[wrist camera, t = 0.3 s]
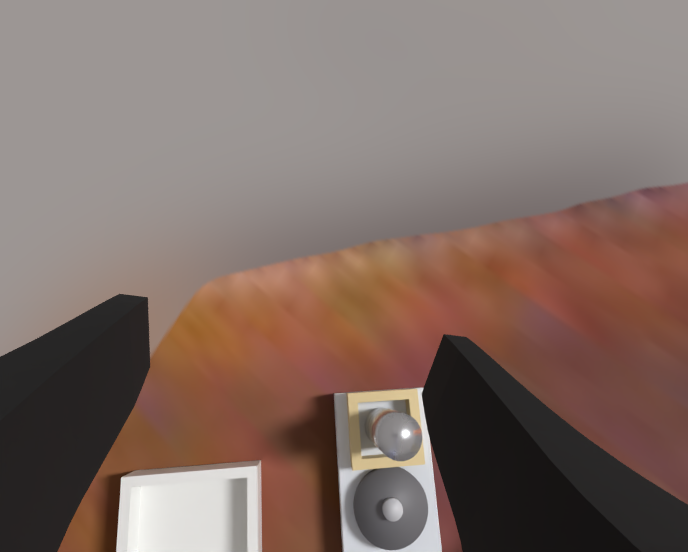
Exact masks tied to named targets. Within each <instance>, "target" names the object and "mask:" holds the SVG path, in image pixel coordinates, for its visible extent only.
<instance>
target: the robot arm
mask: <svg viewBox="0 0 688 552" xmlns="http://www.w3.org/2000/svg"><path fill="white" fill-rule="evenodd" d="M148 322H149V321H148V298H147V297H139V296H132V295H124V294H119V295H117V296H115V297H112V298H111V299H109V300H107V301H105V302H103V303H101V304H99V305H98V306H96V307H94V308H92V309H90V310H88V311H87V312H85V313H83V314H81V315H79V316H78V317H76V318H74V319H72V320H70V321H69V322H67V323H65V324H63V325H61V326H59V327H58V328H56V329H54V330H52V331H50V332H48V333H46V334H45V335H43V336H41V337H39V338H37V339H35V340H33V341H31V342H29V343H27V344H26V345H23V346H21V347H19V348H17V349H15V350H13V351H11V352H9V353H7V354H5V355H3V356H1V357H0V552H57V551H58V549H59V547H60V544H61V542H62V540H63V538H64V535H65V533H66V531H67V529H68V526H69V524H70V522H71V520H72V518H73V516H74V514H75V512H76V510H77V508H78V506H79V504H80V502H81V500H82V499H83V497H84V495H85V493H86V491H87V490H88V488H89V486H90V484H91V483H92V481H93V479H94V477H95V475H96V474H97V472H98V470H99V468H100V467H101V465H102V463H103V461H104V459H105V458H106V456H107V454H108V452H109V451H110V449H111V447H112V445H113V443H114V442H115V440H116V438H117V436H118V435H119V433H120V431H121V429H122V427H123V425H124V424H125V422H126V420H127V418H128V416H129V415H130V413H131V411H132V409H133V407H134V405H135V403H136V401H137V398H138V396H139V393H140V391H141V389H142V386H143V384H144V381H145V378H146V376H147V373H148V371H149V368H150V351H149V350H150V348H149V323H148ZM422 400H423V407H424V414H425V419H426V424H427V430H428V434H429V437H430V441H431V444H432V447H433V450H434V454H435V457H436V460H437V464H438V467H439V470H440V473H441V476H442V480H443V483H444V486H445V489H446V492H447V496H448V499H449V502H450V505H451V508H452V512H453V515H454V518H455V521H456V525H457V529H458V533H459V536H460V540H461V545H462V549H463V552H688V505H687V504H686V503H684V502H682V501H681V500H679V499H677V498H676V497H674V496H673V495H671V494H669V493H668V492H666V491H665V490H663V489H661V488H660V487H658V486H657V485H655V484H653V483H652V482H650V481H649V480H647V479H645V478H644V477H642V476H641V475H639V474H638V473H636V472H635V471H633V470H632V469H630V468H629V467H627V466H626V465H624V464H623V463H621V462H620V461H618V460H617V459H616V458H614V457H613V456H611V455H610V454H609V453H607V452H606V451H604V450H603V449H601V448H600V447H599V446H597V445H596V444H594V443H593V442H592V441H590V440H589V439H588V438H586V437H585V436H584V435H582V434H581V433H580V432H578V431H577V430H576V429H574V428H573V427H572V426H571V425H569V424H568V423H567V422H566V421H564V420H563V419H562V418H561V417H559V416H558V415H557V414H556V413H554V412H553V411H552V410H551V409H549V408H548V407H547V406H546V405H545V404H543V403H542V402H541V401H540V400H539V399H537V398H536V397H535V396H534V395H533V394H532V393H530V392H529V391H528V390H527V389H526V388H525V387H524V386H522V385H521V384H520V383H519V382H518V381H517V380H516V379H514V378H513V377H512V376H511V375H510V374H509V373H508V372H507V371H505V370H504V369H503V368H502V367H501V366H500V365H499V364H498V363H497V362H495V361H494V360H493V359H492V358H491V357H490V356H489V355H487V354H486V353H485V352H484V351H483V350H482V349H481V348H479V347H478V346H477V345H476V344H475V343H473V342H472V341H471V340H469V339H468V338H467V337H461V336H453V335H445V334H444V335H443V338H442V340H441V343H440V346H439V348H438V351H437V354H436V356H435V359H434V362H433V364H432V367H431V370H430V372H429V375H428V378H427V381H426V383H425V386H424V389H423V391H422Z"/></svg>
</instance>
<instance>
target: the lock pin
mask: <svg viewBox="0 0 688 552" xmlns="http://www.w3.org/2000/svg"><path fill="white" fill-rule="evenodd" d="M365 433H366V435H367V437H368V439H369V440H370V441H371V442H372V443H373V444H374V445H375V446H376V447H377V448H378V449H379V450H380V451H382V452H383V453H384V454H385V455H386V456H387V457H388V458H390V459H392V460H395V461H406V460H409V459H411V458H413V457H414V456H415V455H416V454H417V453H418V451H419V450H420V448H421V445H422V431H421V428H420V426H419V424H418V422H417V421H416V420H415V419H414V418H413V417H411V416H410V415H408V414H405V413H402V412H399V411H395V410H392V409H389V408H385V407H380V408H376V409H374V410H373V411H371V412H370V413H369V415H368V416H367V418H366V421H365Z"/></svg>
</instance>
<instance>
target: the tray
mask: <svg viewBox="0 0 688 552" xmlns="http://www.w3.org/2000/svg"><path fill="white" fill-rule="evenodd" d="M116 552H262V512H261V460H257V461H245V462H233V463H220V464H208V465H196V466H184V467H172V468H160V469H147V470H135V471H133V472H131V473H129V474H127V475H125V476H123V477H121V488H120V503H119V518H118V533H117V547H116Z"/></svg>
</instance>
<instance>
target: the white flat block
mask: <svg viewBox="0 0 688 552" xmlns="http://www.w3.org/2000/svg"><path fill="white" fill-rule="evenodd" d="M423 389H424V388H405V389H391V390H376V391H361V392H347V393H334V408H335V426H336V444H337V463H338V481H339V499H340V517H341V535H342V552H442V548H441V539H440V530H439V521H438V511H437V502H436V493H435V484H434V475H433V466H432V456H431V447H430V438H429V434H428V430H427V424H426V419H425V414H424V407H423V400H422V391H423ZM380 407H385V408H389V409H392V410H395V411H399V412H402V413H405V414H408V415H410V416H411V417H413V418H414V419H415V420H416V421H417V422H418V424H419V426H420V428H421V431H422V445H421V448H420V450H419V451H418V453H417V454H416V455H415V456H414V457H413V458H411V459H409V460H406V461H395V460H392V459H390V458H388V457H387V456H386V455H385V454H384V453H383V452H382V451H380V450H379V449H378V448H377V447H376V446H375V445H374V444H373V443H372V442H371V441H370V440H369V439H368V437H367V435H366V433H365V421H366V418H367V416H368V415H369V413H370V412H371V411H373V410H374V409H376V408H380Z"/></svg>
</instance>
